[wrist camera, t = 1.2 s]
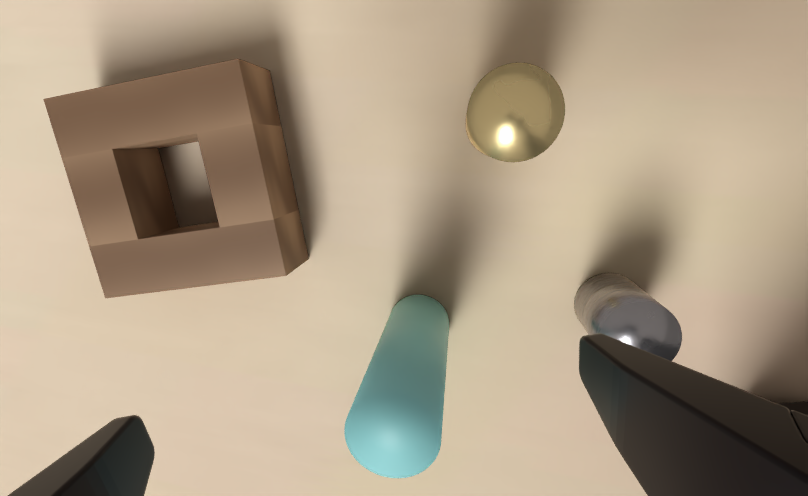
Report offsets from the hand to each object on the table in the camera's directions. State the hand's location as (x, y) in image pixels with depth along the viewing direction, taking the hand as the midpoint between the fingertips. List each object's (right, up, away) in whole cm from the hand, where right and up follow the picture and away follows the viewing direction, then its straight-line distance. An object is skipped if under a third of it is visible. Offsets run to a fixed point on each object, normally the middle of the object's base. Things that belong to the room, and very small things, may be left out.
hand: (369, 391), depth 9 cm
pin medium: (+5, +8, +11) cm, 15 cm away
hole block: (-9, +6, +13) cm, 17 cm away
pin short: (+10, 0, +12) cm, 16 cm away
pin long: (+1, -1, +13) cm, 13 cm away
